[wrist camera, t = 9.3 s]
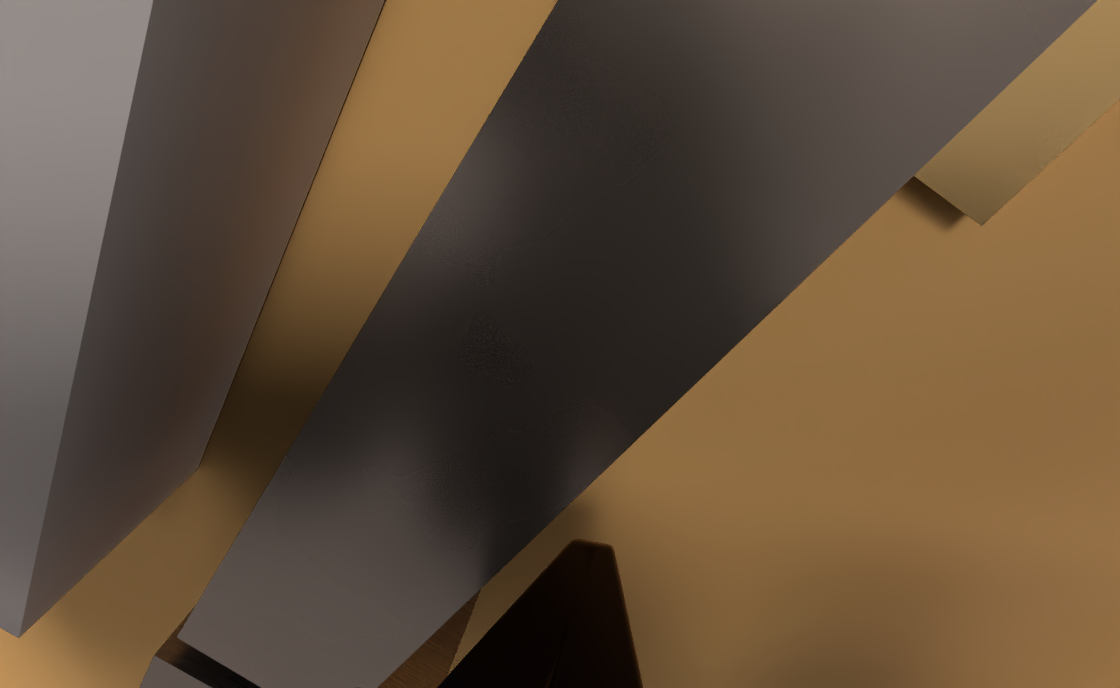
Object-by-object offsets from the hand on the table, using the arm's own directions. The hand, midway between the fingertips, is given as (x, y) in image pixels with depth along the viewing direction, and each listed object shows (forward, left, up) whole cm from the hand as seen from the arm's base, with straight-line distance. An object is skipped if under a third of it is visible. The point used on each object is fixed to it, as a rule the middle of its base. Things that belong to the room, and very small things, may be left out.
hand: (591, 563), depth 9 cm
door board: (-5, -7, -2) cm, 9 cm away
